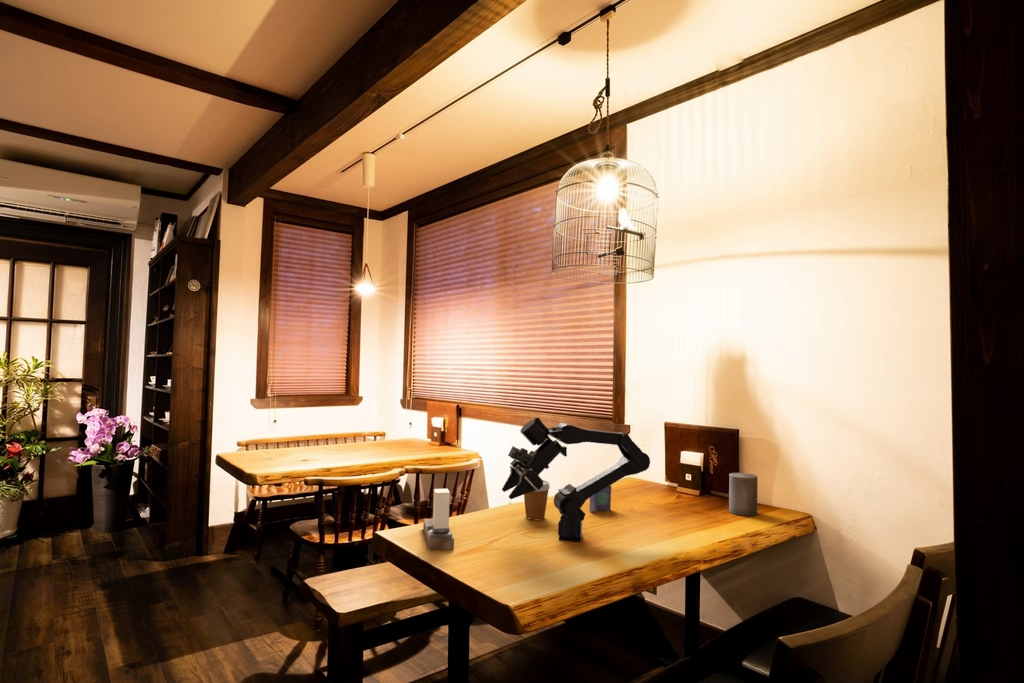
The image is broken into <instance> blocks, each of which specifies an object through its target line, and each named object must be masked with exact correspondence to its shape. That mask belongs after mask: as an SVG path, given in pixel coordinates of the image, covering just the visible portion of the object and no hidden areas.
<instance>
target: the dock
mask: <svg viewBox="0 0 1024 683" xmlns="http://www.w3.org/2000/svg"><path fill="white" fill-rule="evenodd" d="M432 524H433V518H423V533H424V536H425V540H426V545H427V547H428V551H430V550H432V551H446V550H447V551H449V550H450V549H452V550H455V537H454V535H453V532H452V530H451V528H450V527H449V530H450V532H449V534H443V532H440V533H439V534H433V530H432ZM430 552H431V551H430Z"/></svg>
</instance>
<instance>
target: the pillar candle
mask: <svg viewBox="0 0 1024 683" xmlns="http://www.w3.org/2000/svg"><path fill="white" fill-rule="evenodd" d="M728 476H729V477H728V478H729V481H728V482H729V483H728V484H729V485H728V486H729V487H728V488H729V489H728V495H729V496H728V512H729V513H730V514H733V515H737V516H743V517H745V516H746V517H755V516H758V475H756V474H752V473H745V471H743V472H731V473H729V474H728Z"/></svg>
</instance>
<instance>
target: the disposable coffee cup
mask: <svg viewBox="0 0 1024 683" xmlns="http://www.w3.org/2000/svg"><path fill="white" fill-rule="evenodd" d="M542 480H543V479H542ZM550 488H551V485H550V481H547V480H543V486H542V487H541V488H540V489H539V490H538V489H537V488H536V487H535V489H536V491H532V492H529V493H526V494H524V495H523V499H524V500H523V501H524V508H525V518H526V517H527V518H530V519H542V520H544V519H545V518H544V517H545V516H546V509H547V505H548V497H549V496H548V495H549V490H550ZM527 518H526V519H527ZM543 518H544V519H543ZM530 519H529V520H530Z"/></svg>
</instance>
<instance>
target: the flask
mask: <svg viewBox="0 0 1024 683" xmlns="http://www.w3.org/2000/svg"><path fill="white" fill-rule="evenodd" d="M611 497H612V485H610V486H608V487H607V488H605V489H603V490H602V491H600V492H598V493H597V494H595V495H593V496H591V497H590V498H589V508H588V509H589V510H588V511H589V513H602V512H607V511H608V512H609V511H611V507H612V506H611V501H612V499H611Z"/></svg>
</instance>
